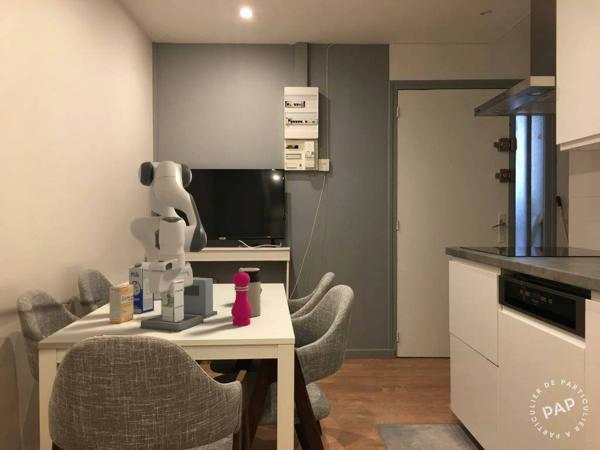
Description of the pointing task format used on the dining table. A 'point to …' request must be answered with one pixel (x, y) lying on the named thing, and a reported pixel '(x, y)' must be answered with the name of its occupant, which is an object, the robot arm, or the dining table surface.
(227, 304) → the dining table surface
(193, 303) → the control unit
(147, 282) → the milk carton
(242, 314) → the red pepper mill
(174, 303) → the syrup box
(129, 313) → the supplement box
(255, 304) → the travel mug
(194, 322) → the parts tray
